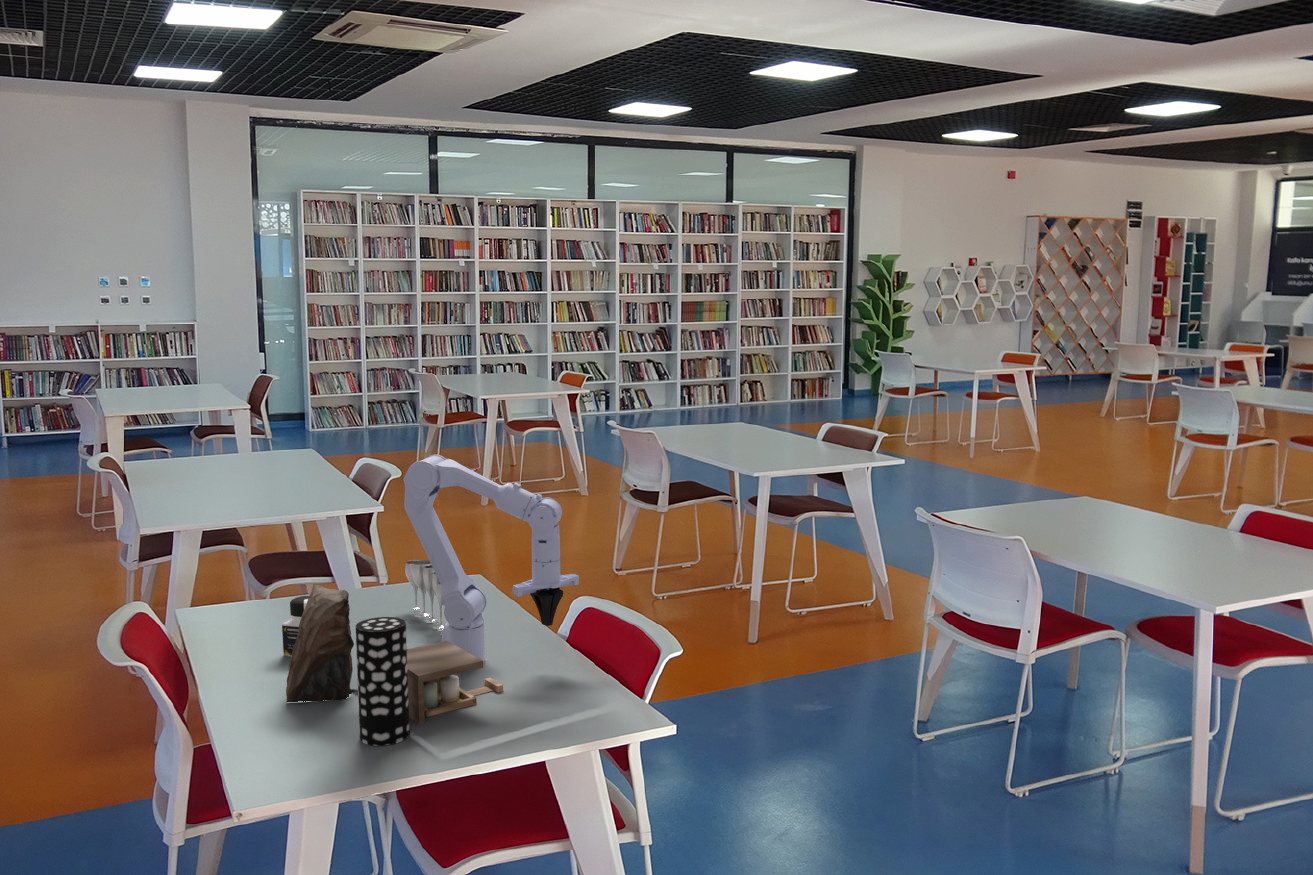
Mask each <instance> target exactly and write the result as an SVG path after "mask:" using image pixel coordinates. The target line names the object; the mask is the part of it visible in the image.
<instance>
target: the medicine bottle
mask: <svg viewBox="0 0 1313 875" xmlns="http://www.w3.org/2000/svg"><path fill="white" fill-rule="evenodd" d="M308 598H309V595H301V596H297V597H293V599H291V600H290V601H289V608H290V610H289V611H290V612H289V613H290V620H287V621H284V622H283V623H282V625H281V631H282V651H283V652H282V653H283V656H284V655H288V656H287V657H291V656H292V652H293V648H294V645H295V642H296V638H297V635H298V631H299V624H300V621H301V617H302V614H303V611H304V609H305V607H306V604H307V601H308Z"/></svg>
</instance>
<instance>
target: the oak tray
mask: <svg viewBox="0 0 1313 875" xmlns="http://www.w3.org/2000/svg"><path fill="white" fill-rule="evenodd" d="M437 692H438V704H439V705H440V706H436V707H433V708H426V707H424V717H431V716H435V715H440V714H443V713H447V712H449V711H451V712H452V711H455V710H458V709H462V708H467V707H469V706H472V705H473V706H474V705H477V697H476V696H480V695H485V694H488V693H492V692H496V693H501V692H504V685H503V684H502V683H501V682H499V681H497V680H495V679H493V677H486V678H484V686H482V687H477V688H474V689H470V690H467V691H466V690H464V689H463V688H462V687H459V694H460V699H459V700H458V701H455V702H449V703H448V702H443V701H441V686H437Z"/></svg>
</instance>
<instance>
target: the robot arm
mask: <svg viewBox="0 0 1313 875" xmlns="http://www.w3.org/2000/svg"><path fill="white" fill-rule="evenodd" d="M403 484H404V503H403V504H404V505H403V508H404V511H405V512H406V515H407V517H408V519H409V521H410V523H411V525H412V527H413V530H414V531H415V534H416V536H417V538H418V540H419V542H420V544H421V546H422V548H423V550H424V552H425V554H426V556H427V558H428V559H427V560H429V561H430V563H431V565H432V567H433V569H434V571H435V573H436V575H437V577H438V579H439V582H440V584H441V586H442V590H441V599H442V601H443V604H444V606H443V607H444V609H443V610H444V618H445V621H446V623H445V624H443V625H444V627H443V629H442V630H441V633H442V637H441V642H442V641H448V642H450V643H452V644H454V645H456V646H457V647H459V648H461V649H463V650H465V651H467V652H468V653H470V654H472V655H474V656H476V657H477V658H479V659H481V660H483V663H485V662H486V657H485V655H486V652H485V651H486V650H485V620H484V618H483V615H482V613H483V612H484V611H485V609H486V607H487V602H488V601H487V597H486V595H485V593H484V591H483V590H482V589H480V587H478V586H477V584H476V583H475V582H474V579H473V578H472V577H470V576H469V575H467V574H466V573H465V571H464V568H463V567H462V564H461V562H460V560H459V558H458V555H457V553H456V551H455V550H454V548H453V545H452V543H451V541H450V539H449V537H448V535H447V532H446V531H445V529H444V527H443V525H442V522H441V521H440V518H439V516H438V514H437V512H436V510H435V507H434V502H435V500H436V498H437V496H438V493H439V491H440V489H443V488H449V487H450V488H451V487H460V488H462V489H465V490H468V491H471V492H473V493H475V494H477V495H481V496H482V497H485V498H488V499H490V500H491V501H493V502H494V504H495V507H496V508H497V509H498V510H500V511H501V512H504V513H506V514H508V515H509V516H510V515H511V516H513V517H515V518H518V519H519V520H521V521H524V522H527V523H528V526H529V527H530V528H531V579H529V580H526V581H524V582H521V583H518V584H517V583H516V584H513V585H512V595H513V596H516V597H517V598H519V597H523V595H530V596H531V598H532V601H533V602H534V604H535V606H536V608H537V612H538V614H539V618H540V622H541V625H543V626H545V627H549V626H550V627H551V626H553V624H554V619H555V615H556V612H557V609H558V606H559V603H560V602H561V599H562V598H563V596H564V590H562V589H561V588H563V587H569V586H578V585H579V584H580V576H579V575H577V574H575V573H570V574H561V536H560V524H559V522H560V521H561V518H562V516H563V509H562V506H561V504H560V503H559V502H558V501H557V500H555V499H554V498H553V497H543V495H542V494H540V493H537V494H535V493H533V492H530V491H529V490H526V489H524V488H522V484H520V483H518V482H514V483H511V482H506V483H505V484H503V485H501V484H499V483H497V482H495V481H493V480H491V479H489V478H488V477H486V476H484V475H481V474H480V473H478V472H475V471H473V470H472V469H470V468H469V467H467V466H464V465H462V464H460V463H459V462H457V461H455V459H454V460H453V459H450V458H446V457H444V456H443V455H441V454H440V455H439V454H431V455H429V456H427V457H426V458H424V459H422V460H418V461H415V462H413V463H412V464H411V465H410V466H409V467H408V469H407V472H406V473H405V476H404V477H403Z"/></svg>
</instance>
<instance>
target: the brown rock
mask: <svg viewBox="0 0 1313 875" xmlns="http://www.w3.org/2000/svg"><path fill="white" fill-rule="evenodd" d="M349 595H350V593H349V592H348V591H347V590H345V589H340V590H339V589H336V588H328V587H325V586H324V585H322V584H317V583H316V584H313V585H312V588H311V591H310V594H309V595H308V596H309V598H308V601H307V604H306V607H305V609H304V611H303V614H302V617H301V621H300V624H299V631H298V635H297V638H296V642H295V645H294V648H293V652H292V656H290V661H289V668H288V674H287V677H286V688H285V695H286V702H298V701H303V702H304V701H305V702H306V701H323V700H324V701H323V702H326V701H325V700H338V701H343V700H342V699H344V700H347V699H346V698H347V697H349V694H352V695H353V690H352V689H351V681H352V680H351V679H352V676H353V668H354V667H353V658H352V649H353V648H354V645H355V642H354V639H353V638H352V636H351V635H352V631H351V625H350V622H351V620H350V618H349V617H350V610H351V608H350V605H349ZM351 690H352V691H351Z"/></svg>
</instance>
